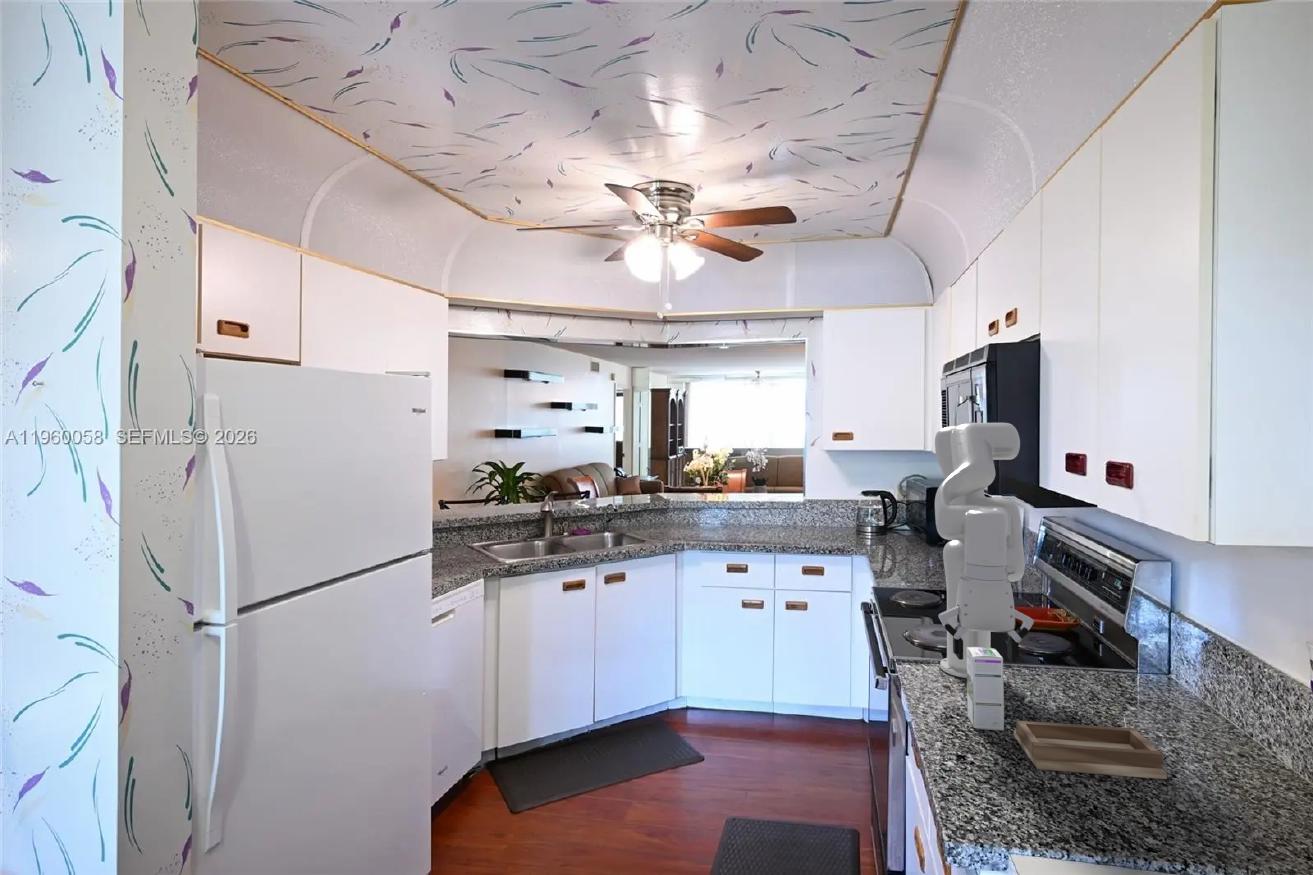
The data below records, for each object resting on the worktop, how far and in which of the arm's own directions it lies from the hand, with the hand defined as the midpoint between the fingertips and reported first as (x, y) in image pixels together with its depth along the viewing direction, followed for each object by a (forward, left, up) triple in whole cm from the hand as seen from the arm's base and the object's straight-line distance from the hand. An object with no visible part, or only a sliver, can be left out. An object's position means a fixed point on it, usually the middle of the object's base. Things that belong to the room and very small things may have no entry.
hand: (985, 659), depth 137 cm
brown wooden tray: (+10, +14, -13) cm, 22 cm away
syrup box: (-1, 0, -13) cm, 13 cm away
